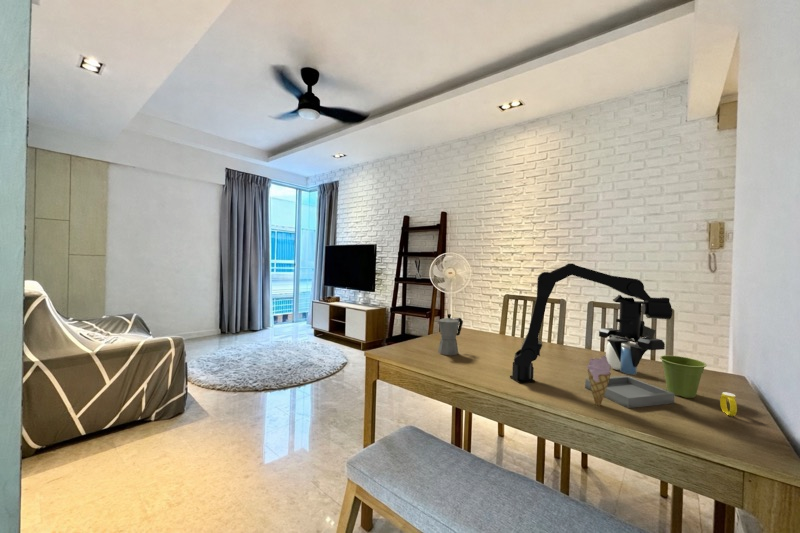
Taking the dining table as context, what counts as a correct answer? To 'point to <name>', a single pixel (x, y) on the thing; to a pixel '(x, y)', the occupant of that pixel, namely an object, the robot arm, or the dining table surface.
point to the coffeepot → (449, 335)
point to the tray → (634, 392)
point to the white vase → (612, 356)
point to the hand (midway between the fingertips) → (628, 364)
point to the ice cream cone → (599, 377)
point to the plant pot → (682, 375)
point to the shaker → (627, 359)
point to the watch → (731, 400)
